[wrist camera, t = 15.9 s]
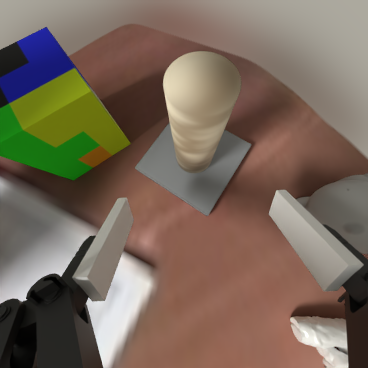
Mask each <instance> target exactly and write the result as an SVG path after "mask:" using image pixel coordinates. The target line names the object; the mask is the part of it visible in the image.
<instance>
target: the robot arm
mask: <svg viewBox="0 0 368 368" xmlns="http://www.w3.org/2000/svg"><path fill="white" fill-rule="evenodd" d="M269 215H270V216H271V218H272V219H273V221H274V222H275V223H276V225H277V226H278V228H279V229H280V230H281V232H282V233H283V235H284V236H285V237H286V239H287V240H288V242H289V243H290V244H291V246H292V247H293V249H294V250H295V252H296V253H297V254H298V256H299V257H300V259H301V260H302V261H303V263H304V264H305V266H306V267H307V268H308V270H309V271H310V273H311V274H312V275H313V277H314V278H315V280H316V281H317V282H318V284H319V285H320V287H321V288H322V290H323V291H337V290H338V289H339V288H340V287H341V286H343V287H344V288H345V290H346V292H345V293H344V294H343V295H342V296H341V297H339V299H338V301H339V302H342V301H343V300H344V299H345V304H344V305H345V314H346V332H347V350H348V368H368V260H367V259H366V258H365V257H364V256H363V255H362V254H361V253H360V252H359V251H358V250H356V249H355V248H354V247H353V246H352V245H351V244H349V243H348V241H346V240H345V239H344V238H342V236H341V235H340V234H339V233H338V232H337V231H335V230H334V229H332V228H331V227H329V226H328V225H326V224H321V223H320V222H319V221H318V220H317V219H315V218H314V217H313V216H312V215H311V214H310V213H309V212H308V211H307V210H306V209H305V208H304V207H303V206H302V205H301V204H300V203H299V202H298V201H297V200H296V199H295V198H293V197H292V196H291V195H290V194H289V193H288V192H287V191H286V190H276V193H275V196H274V199H273V202H272V205H271V208H270V211H269ZM133 221H134V219H133V216H132V213H131V209H130V206H129V203H128V200H127V198H118V199H117V201H116V203H115V205H114V206H113V208H112V210H111V211H110V213H109V215H108V217H107V218H106V220H105V222H104V223H103V225H102V227H101V229H100V230H99V232H98V234H97V236H90V237H88V238H87V239H86V240H85V241H84V242H83V244H82V245H81V247H80V248H79V251H77V253H76V255H75V257H74V258H73V259H72V261H71V262H70V264H69V265H68V267H67V269H66V270H65V272H64V273H63V275H62V276H61V277H60V276H59V275H58V274H49V275H47V276H45V277H43V278H41V279H40V280H38V281H37V282H36V283H35V284H34V285H33V286H32V287H31V288H30V290H29V291H28V293H27V297H26V299H27V300H26V301H23V302H21V301H19V300H18V299H10V300H7V301H5V302H3V303H1V304H0V368H103V365H102V361H101V357H100V354H99V350H98V346H97V342H96V338H95V335H94V331H93V327H92V323H91V319H90V316H89V312H88V308H87V305H86V302H87V300H88V297H89V298H90V299H91V300H92V301H105V299H106V296H107V293H108V290H109V288H110V285H111V282H112V279H113V277H114V274H115V271H116V268H117V266H118V263H119V260H120V257H121V254H122V252H123V249H124V246H125V243H126V241H127V238H128V235H129V232H130V230H131V227H132V224H133Z"/></svg>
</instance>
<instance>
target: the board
mask: <svg viewBox="0 0 368 368" xmlns="http://www.w3.org/2000/svg"><path fill="white" fill-rule="evenodd" d="M251 145H252V144H250V143H248V142H246V141H244V140H243V139H241V138H239V137H237V136H235V135H233V134H232V133H230V132H228V131H226V130H224V132H223V134H222V136H221V139H220V141H219V144H218V146H217V149H216V151H215V153H214V156H213V158H212V161H211V163H210V165H209V166H208V168H207V169H205V170H204V171H202V172H200V173H188V172H186V171H184V170H183V169H182V168H181V167H180V166H179V165H178V162H177V159H176V153H175V148H174V142H173V137H172V131H171V126H170V122H169V124H168V125H167V126H166V128H165V129H164V130H163V132H162V133H161V134H160V135H159V137H158V138H157V139H156V141H155V142H154V143H153V145H152V146H151V147H150V149H149V150H148V151H147V152H146V154H145V155H144V156H143V158H142V159H141V160H140V162H139V163H138V164H137V166H136V167H135V169H137V170H138V171H139V172H141V173H142V174H144V175H145V176H147V177H148V178H150V179H151V180H153V181H154V182H156V183H157V184H159V185H160V186H162V187H163V188H165V189H166V190H168V191H169V192H171V193H172V194H174V195H175V196H177V197H179V198H180V199H182V200H183V201H185V202H186V203H188V204H189V205H191V206H192V207H194V208H195V209H197V210H198V211H200V212H201V213H203V214H204V215H206V216H208V215H209V213H210V211H211V210H212V208H213V206H214V205H215V203H216V202H217V200H218V198H219V197H220V195H221V193H222V192H223V190H224V189H225V187H226V185H227V184H228V182H229V180H230V179H231V177H232V176H233V174H234V172H235V171H236V169H237V167H238V166H239V164H240V163H241V161H242V159H243V158H244V156H245V154H246V153H247V151H248V150H249V148H250V146H251Z"/></svg>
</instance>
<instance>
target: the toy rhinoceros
mask: <svg viewBox="0 0 368 368" xmlns="http://www.w3.org/2000/svg"><path fill="white" fill-rule="evenodd" d="M296 200H297V201H298V202H299V203H300V204H301V205H302V206H303V207H304V208H305V209H306V210H307V211H308V212H309V213H310V214H311V215H312V216H313V217H314V218H315V219H317V220H318V221H319V222H320V223H321V224H326V225H328V226H329V227H331V228H332V229H334V230H335V231H337V232H338V233H339V234H340V235H341V236H342V238H344V239H345V240H346V241H348V243H349V244H351V245H352V246H353V247H354V248H355V249H356V250H358V251H359V252H360V253H361V254H368V173H366V174H364V175H353V176H349V177H346V178H343V179H341V180H338V181H337V182H333V183H330V184H327V185H325V186H323V187H321V188H319V189H318V190H317V191H315V192H314V193H313V194H312V196H311V197H301V198H297V199H296Z"/></svg>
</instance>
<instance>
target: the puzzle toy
mask: <svg viewBox="0 0 368 368" xmlns="http://www.w3.org/2000/svg"><path fill="white" fill-rule="evenodd" d="M130 144H131V143H130V142H129V140H128V139H127V137H126V136H125V135H124V133H123V132H122V130H121V129H120V127H119V126H118V125H117V123H116V122H115V120H114V119H113V118H112V116H111V115H110V113H109V112H108V110H107V109H106V108H105V106H104V105H103V103H102V102H101V100H100V99H99V98H98V96H97V95H96V94H95V92H94V91H93V90H92V88H91V87H90V85H89V84H88V83H87V81H86V80H85V79H84V77H83V76H82V75H81V73H80V72H79V71H78V69H77V68H76V66H75V65H74V64H73V62H72V61H71V60H70V58H69V57H68V56H67V54H66V53H65V52H64V50H63V49H62V48H61V46H60V45H59V43H58V42H57V41H56V39H55V38H54V37H53V35H52V34H51V33H50V31H49V30H48V28H47V27H45V28H43V29H41V30H39V31H37V32H35V33H33V34H31V35H29V36H27V37H25V38H23V39H21V40H19V41H17V42H15V43H13V44H11V45H9V46H7V47H5V48H3V49H1V50H0V156H2V157H5V158H8V159H11V160H14V161H17V162H20V163H23V164H26V165H29V166H32V167H35V168H38V169H41V170H44V171H47V172H50V173H53V174H56V175H59V176H62V177H65V178H68V179H71V180H75V179H77V178H78V177H80V176H81V175H83V174H84V173H86V172H87V171H89V170H91V169H92V168H94V167H95V166H97V165H98V164H100V163H102V162H103V161H105V160H106V159H108V158H109V157H111V156H112V155H114V154H116V153H117V152H119V151H120V150H122V149H123V148H125V147H127V146H128V145H130Z"/></svg>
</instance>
